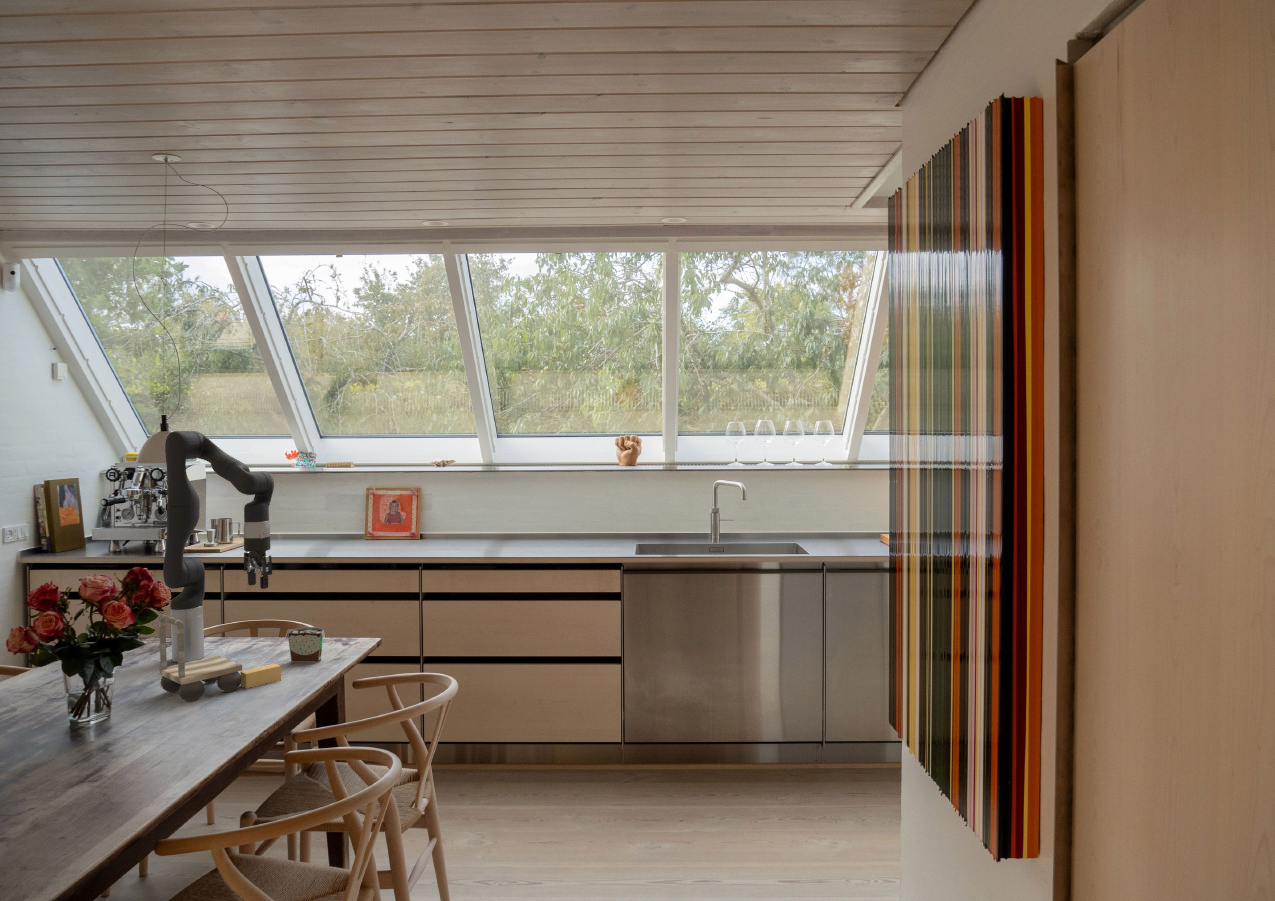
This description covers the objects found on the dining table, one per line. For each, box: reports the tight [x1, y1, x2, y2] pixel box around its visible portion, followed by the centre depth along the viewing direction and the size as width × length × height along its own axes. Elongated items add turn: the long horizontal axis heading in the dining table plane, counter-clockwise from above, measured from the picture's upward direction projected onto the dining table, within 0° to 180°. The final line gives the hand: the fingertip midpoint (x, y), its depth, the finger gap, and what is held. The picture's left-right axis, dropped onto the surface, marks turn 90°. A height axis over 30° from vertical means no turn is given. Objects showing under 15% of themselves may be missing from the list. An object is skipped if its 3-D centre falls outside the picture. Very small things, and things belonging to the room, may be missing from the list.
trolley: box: [158, 613, 243, 703], centre depth 222 cm, size 16×16×23 cm
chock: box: [239, 663, 282, 689], centre depth 229 cm, size 4×10×4 cm, turn 139°
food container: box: [286, 626, 326, 663], centre depth 252 cm, size 12×6×10 cm, turn 84°
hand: (258, 586), depth 243 cm, fingers open, 8 cm apart
